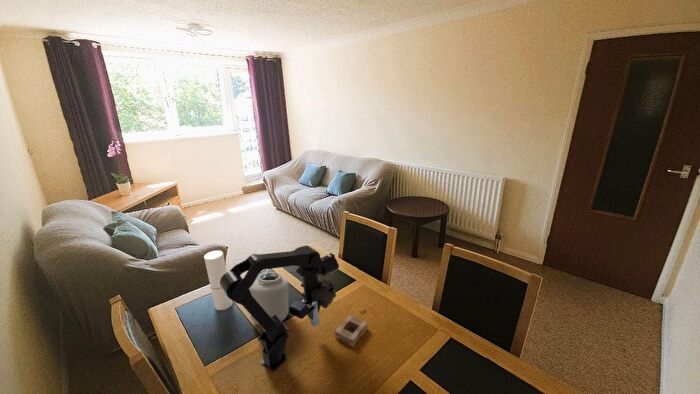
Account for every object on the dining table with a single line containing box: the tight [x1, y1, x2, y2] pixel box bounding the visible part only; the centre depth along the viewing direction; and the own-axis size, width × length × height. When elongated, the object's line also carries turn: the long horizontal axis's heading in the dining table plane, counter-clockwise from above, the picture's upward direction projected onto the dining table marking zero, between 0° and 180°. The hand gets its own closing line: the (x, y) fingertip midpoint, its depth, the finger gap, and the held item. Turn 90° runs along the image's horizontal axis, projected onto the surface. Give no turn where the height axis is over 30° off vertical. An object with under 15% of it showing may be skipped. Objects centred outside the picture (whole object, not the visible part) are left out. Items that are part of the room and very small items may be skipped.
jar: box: [249, 269, 289, 326], centre depth 114 cm, size 19×15×25 cm
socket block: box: [334, 314, 368, 347], centre depth 107 cm, size 10×8×3 cm
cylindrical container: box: [203, 250, 234, 311], centre depth 121 cm, size 7×7×25 cm
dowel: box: [310, 302, 320, 327], centre depth 104 cm, size 3×3×9 cm
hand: (314, 316), depth 104 cm, fingers closed on dowel, 3 cm apart
